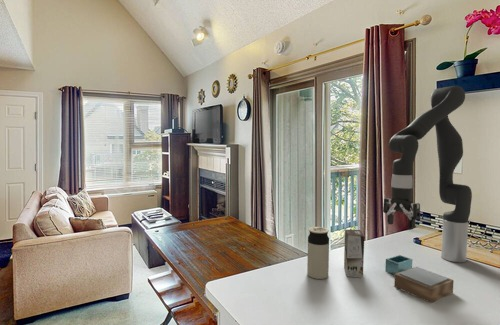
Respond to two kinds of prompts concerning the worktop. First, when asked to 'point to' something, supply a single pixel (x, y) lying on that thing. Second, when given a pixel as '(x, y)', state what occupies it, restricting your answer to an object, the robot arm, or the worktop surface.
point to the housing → (398, 264)
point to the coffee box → (354, 253)
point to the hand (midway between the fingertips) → (400, 226)
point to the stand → (424, 284)
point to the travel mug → (318, 253)
